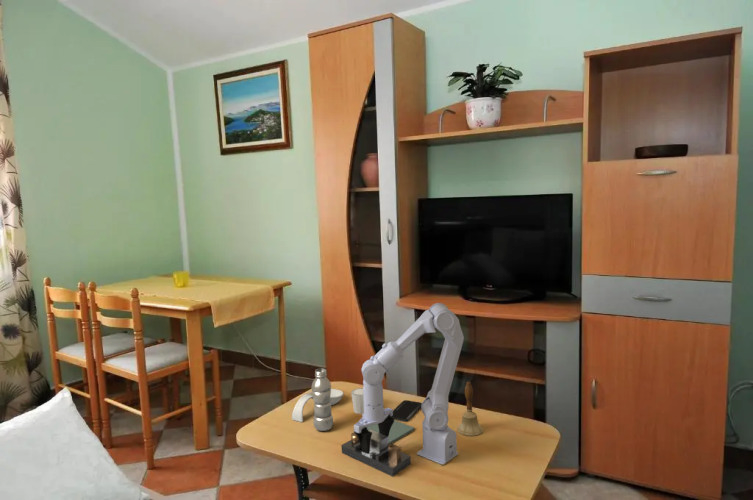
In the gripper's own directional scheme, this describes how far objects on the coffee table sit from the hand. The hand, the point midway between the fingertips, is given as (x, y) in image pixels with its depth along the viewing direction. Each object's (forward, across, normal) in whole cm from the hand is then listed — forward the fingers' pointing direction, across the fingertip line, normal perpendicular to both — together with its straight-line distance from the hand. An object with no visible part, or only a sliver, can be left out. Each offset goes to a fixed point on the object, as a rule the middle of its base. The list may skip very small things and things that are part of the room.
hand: (375, 447), depth 144 cm
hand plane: (+3, 0, 0) cm, 3 cm away
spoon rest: (+4, -12, -40) cm, 42 cm away
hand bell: (+4, -32, +12) cm, 34 cm away
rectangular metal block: (+1, 0, 0) cm, 1 cm away
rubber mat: (+3, -14, -9) cm, 17 cm away
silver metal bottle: (+4, -3, -26) cm, 26 cm away
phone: (+4, -30, -13) cm, 33 cm away
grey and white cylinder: (+4, -21, -26) cm, 34 cm away
